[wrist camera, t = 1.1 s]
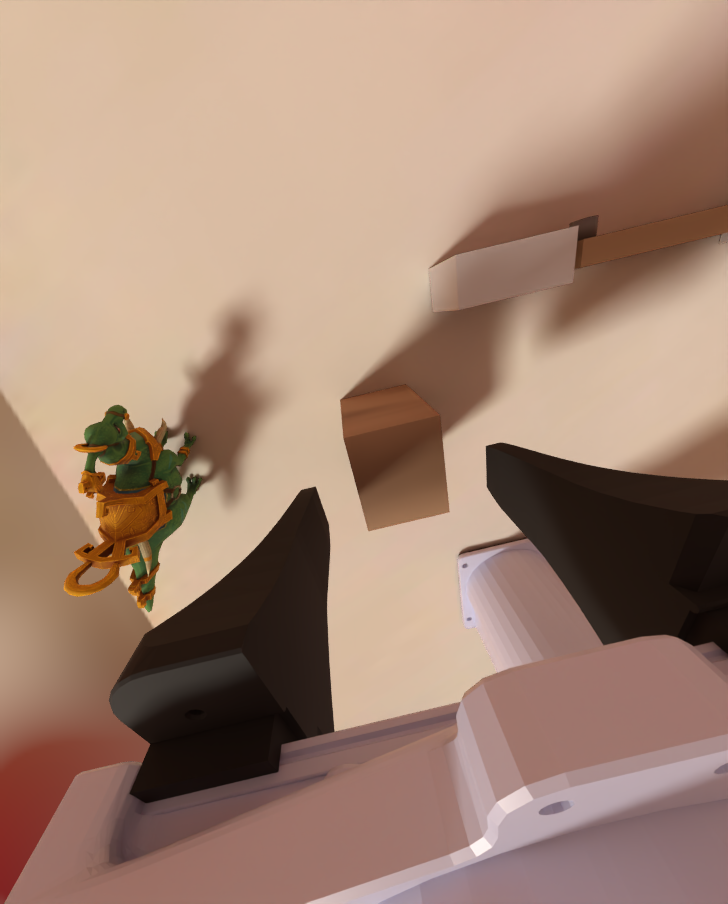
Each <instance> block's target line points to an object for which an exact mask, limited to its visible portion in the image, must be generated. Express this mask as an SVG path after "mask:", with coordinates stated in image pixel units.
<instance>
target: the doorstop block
mask: <svg viewBox="0 0 728 904" xmlns="http://www.w3.org/2000/svg"><path fill="white" fill-rule="evenodd" d="M340 402H341V414H342V426H343V438H344V442H345V445H346V449H347V453H348V457H349V460H350V464H351V468H352V472H353V475H354V479H355V483H356V486H357V490H358V494H359V498H360V501H361V505H362V509H363V512H364V516H365V520H366V524H367V527H368V531H371V530H376V529H380V528H384V527H388V526H393V525H397V524H401V523H405V522H410V521H414V520H418V519H422V518H427V517H431V516H435V515H439V514H444V513H448V512H449V502H448V492H447V482H446V472H445V462H444V451H443V441H442V431H441V421H440V415H439V414H438V413H437V412H436V411H435V410H434V409H433V408H431V407H430V406H429V405H428V404H427V403H426V402H425V401H424V400H423V399H422V398H420V397H419V396H418V395H417V394H416V393H415V392H414V391H413V390H412V389H410V388H409V387H408V386H407V385H406V384H405V385H401V386H397V387H392V388H388V389H384V390H380V391H376V392H371V393H367V394H363V395H359V396H355V397H350V398H346V399H342V400H340Z"/></svg>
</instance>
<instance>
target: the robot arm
mask: <svg viewBox="0 0 728 904" xmlns="http://www.w3.org/2000/svg"><path fill="white" fill-rule="evenodd" d="M486 469H487V488H488V490H489V491H490V493H491V494H492V496H493V497H494V499H495V500H496V502H497V503H498V505H499V506H500V507H501V509H502V510H503V511H504V512H505V513H506V514H507V515H508V517H509V518H510V519H511V520H512V521H513V522H514V523H515V524H516V526H517V527H518V528H519V529H520V530H521V531H522V532H523V533H524V535H525V536H526V537H527V539H523V540H519V541H514V542H510V543H506V544H502V545H497V546H493V547H489V548H485V549H481V550H476V551H472V552H468V553H464V554H461V555H459V556H458V558H457V564H458V574H459V585H460V596H461V607H462V617H463V624H464V627H465V628H466V629H471V628H475V627H476V628H477V631H478V633H479V635H480V637H481V639H482V641H483V644H484V646H485V648H486V650H487V652H488V654H489V656H490V659H491V661H492V663H493V665H494V667H495V669H496V672H497V673H495V674H493V675H490V676H488V677H485V678H483V679H481V680H480V681H479V682H478V683H476V684H475V685H474V686H473V687H471V688H470V689H469V690H468V691H466V692H465V693H464V696H463V698H462V701H461V702H458V703H454V704H450V705H445V706H441V707H437V708H433V709H429V710H424V711H420V712H416V713H412V714H408V715H403V716H399V717H395V718H391V719H387V720H382V721H378V722H374V723H370V724H366V725H361V726H357V727H353V728H349V729H345V730H340V731H336V732H334V720H333V708H332V695H331V680H330V665H329V646H328V624H327V593H328V577H329V561H330V533H329V524H328V521H327V518H326V515H325V512H324V509H323V507H322V504H321V501H320V498H319V495H318V492H317V489H316V487H312V488H308V489H304V490H301V491H300V492H299V494H298V495H297V496H296V498H295V499H294V501H293V502H292V504H291V505H290V506H289V508H288V509H287V510H286V512H285V513H284V514H283V516H282V517H281V519H280V520H279V521H278V522H277V524H276V525H275V526H274V527H273V529H272V530H271V531H270V532H269V533H268V535H267V536H266V537H265V538H264V539H263V541H262V542H261V543H260V544H259V545H258V546H257V547H256V548H255V549H254V550H253V551H252V552H251V553H250V554H249V555H248V556H247V557H246V558H245V559H244V560H243V561H242V562H241V563H240V564H239V565H238V566H237V567H235V568H234V569H233V570H232V571H231V572H230V573H229V574H227V575H226V576H225V577H224V578H223V579H222V580H221V581H219V582H218V583H217V584H216V585H214V586H213V587H212V588H211V589H209V590H208V591H207V592H206V593H204V594H203V595H202V596H200V597H199V598H198V599H196V600H195V601H194V602H192V603H191V604H189V605H188V606H187V607H185V608H184V609H182V610H181V611H179V612H178V613H176V614H175V615H173V616H172V617H170V618H169V619H167V620H166V621H164V622H163V623H161V624H160V625H158V626H157V627H155V628H154V629H152V630H151V631H149V632H148V633H146V634H145V635H144V637H143V638H142V640H141V642H140V643H139V645H138V647H137V648H136V650H135V652H134V653H133V655H132V657H131V658H130V660H129V662H128V664H127V665H126V667H125V669H124V670H123V672H122V674H121V675H120V677H119V679H118V680H117V682H116V684H115V686H114V687H113V689H112V691H111V694H110V698H109V702H110V705H111V708H112V711H113V713H114V714H115V715H116V716H117V718H118V719H119V720H120V721H122V722H123V723H124V724H125V725H127V726H128V727H129V728H131V729H132V730H133V731H135V732H136V733H137V734H138V735H140V736H141V737H142V738H143V739H145V740H146V741H148V742H149V743H150V747H149V749H148V752H147V754H146V756H145V758H144V761H143V763H140V762H132V761H131V762H123V763H118V764H114V765H110V766H105V767H101V768H98V769H93V770H89V771H85V772H81V773H80V774H78V775H77V776H76V777H75V778H74V780H73V782H72V784H71V785H70V787H69V789H68V791H67V793H66V794H65V796H64V798H63V800H62V801H61V803H60V805H59V807H58V809H57V810H56V812H55V814H54V816H53V817H52V819H51V821H50V823H49V825H48V826H47V828H46V830H45V832H44V834H43V835H42V837H41V839H40V841H39V842H38V844H37V846H36V848H35V850H34V851H33V853H32V855H31V857H30V859H29V860H28V862H27V864H26V866H25V867H24V869H23V871H22V873H21V875H20V877H19V878H18V880H17V882H16V883H15V885H14V887H13V889H12V891H11V892H10V894H9V896H8V898H7V900H6V902H5V903H4V904H728V480H707V479H691V478H677V477H666V476H657V475H648V474H639V473H632V472H625V471H618V470H613V469H607V468H601V467H596V466H591V465H586V464H582V463H577V462H573V461H569V460H565V459H561V458H557V457H553V456H550V455H546V454H542V453H539V452H535V451H532V450H528V449H525V448H522V447H518V446H514V445H510V444H506V443H496V444H492V445H488V446H486Z"/></svg>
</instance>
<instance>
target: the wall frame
mask: <svg viewBox="0 0 728 904" xmlns="http://www.w3.org/2000/svg"><path fill="white" fill-rule="evenodd" d="M578 227H579V225H578V226H574V227H570V228H566V229H561V230H557V231H553V232H549V233H545V234H541V235H536V236H532V237H528V238H524V239H520V240H516V241H511V242H507V243H503V244H499V245H495V246H490V247H486V248H482V249H478V250H474V251H470V252H465V253H461V254H457V255H454V256H452V257H451V258H449V259H447V260H445V261H443V262H441V263H439V264H437V265H436V266H434V267H432V268H430V269H429V279H430V289H431V300H432V310H433V312H442V311H455V310H462V309H466V308H470V307H474V306H478V305H483V304H487V303H491V302H495V301H499V300H503V299H508V298H512V297H516V296H520V295H524V294H529V293H533V292H537V291H541V290H545V289H549V288H554V287H558V286H562V285H566V284H570V283H573V278H574V267H575V257H576V247H577V237H578ZM725 242H728V233H724V234H722V235H721V238H720V242H719V244H720V243H725Z"/></svg>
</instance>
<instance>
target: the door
mask: <svg viewBox="0 0 728 904" xmlns="http://www.w3.org/2000/svg"><path fill="white" fill-rule="evenodd" d="M597 223H598V215H596V216H592V217H588V218H584V219H581V220H578V221H575V222H573V223H571V224H570V227H574V226H578V225H579V227H578V237H577V247H576V257H575V267H574V269H577V268H582V267H586V266H590V265H594V264H598V263H602V262H607V261H611V260H615V259H619V258H623V257H628V256H632V255H636V254H640V253H644V252H648V251H653V250H657V249H661V248H665V247H669V246H674V245H678V244H682V243H686V242H690V241H694V240H699V239H703V238H707V237H711V236H715V235H720V234H724V233H728V205H725V206H721V207H716V208H712V209H708V210H704V211H700V212H696V213H691V214H687V215H683V216H679V217H675V218H670V219H666V220H662V221H658V222H654V223H650V224H645V225H641V226H637V227H633V228H629V229H624V230H620V231H616V232H612V233H608V234H604V235H599V236H596V232H597ZM570 227H569V228H570Z"/></svg>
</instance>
